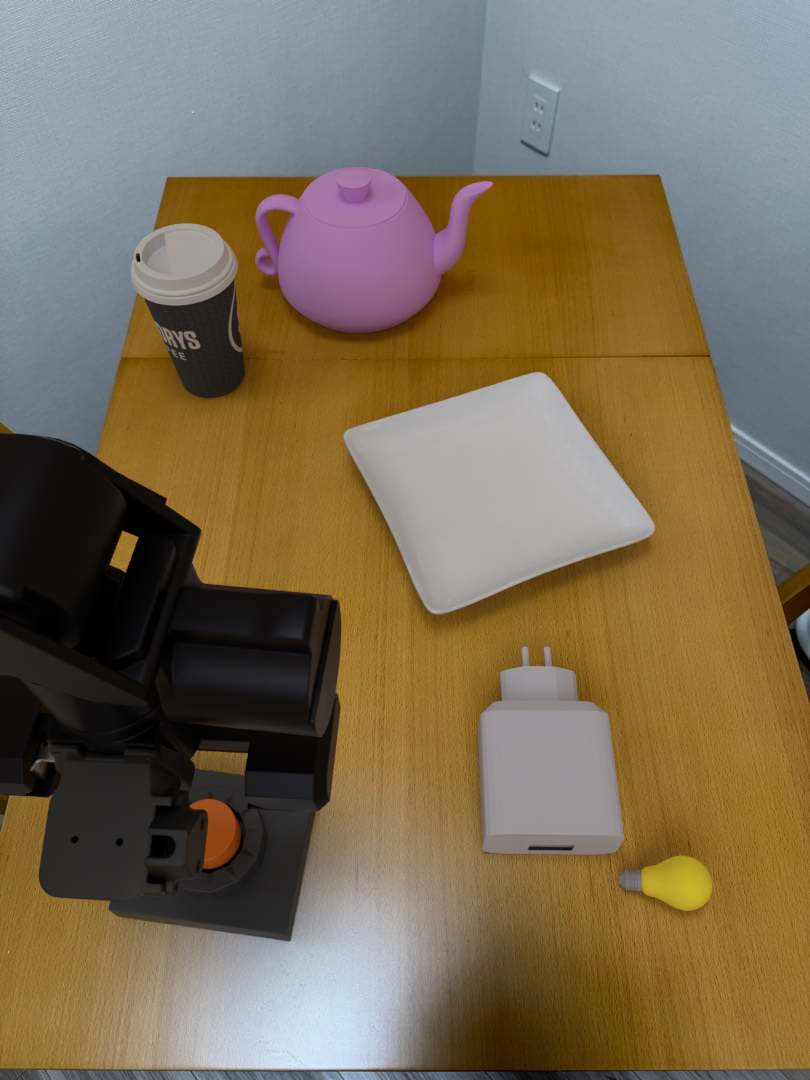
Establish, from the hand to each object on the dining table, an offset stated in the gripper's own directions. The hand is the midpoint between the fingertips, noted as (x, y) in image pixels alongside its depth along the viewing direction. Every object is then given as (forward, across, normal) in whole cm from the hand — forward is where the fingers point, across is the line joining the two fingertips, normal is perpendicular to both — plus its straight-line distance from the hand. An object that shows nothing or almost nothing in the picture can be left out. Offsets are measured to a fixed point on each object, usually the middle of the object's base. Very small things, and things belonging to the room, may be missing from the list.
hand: (190, 790), depth 51 cm
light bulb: (+12, +30, -1) cm, 32 cm away
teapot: (+12, +5, +61) cm, 62 cm away
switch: (+8, 0, 0) cm, 8 cm away
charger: (+12, +22, +8) cm, 27 cm away
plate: (+12, +18, +32) cm, 39 cm away
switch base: (+12, 0, 0) cm, 12 cm away
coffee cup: (+12, -10, +47) cm, 49 cm away
